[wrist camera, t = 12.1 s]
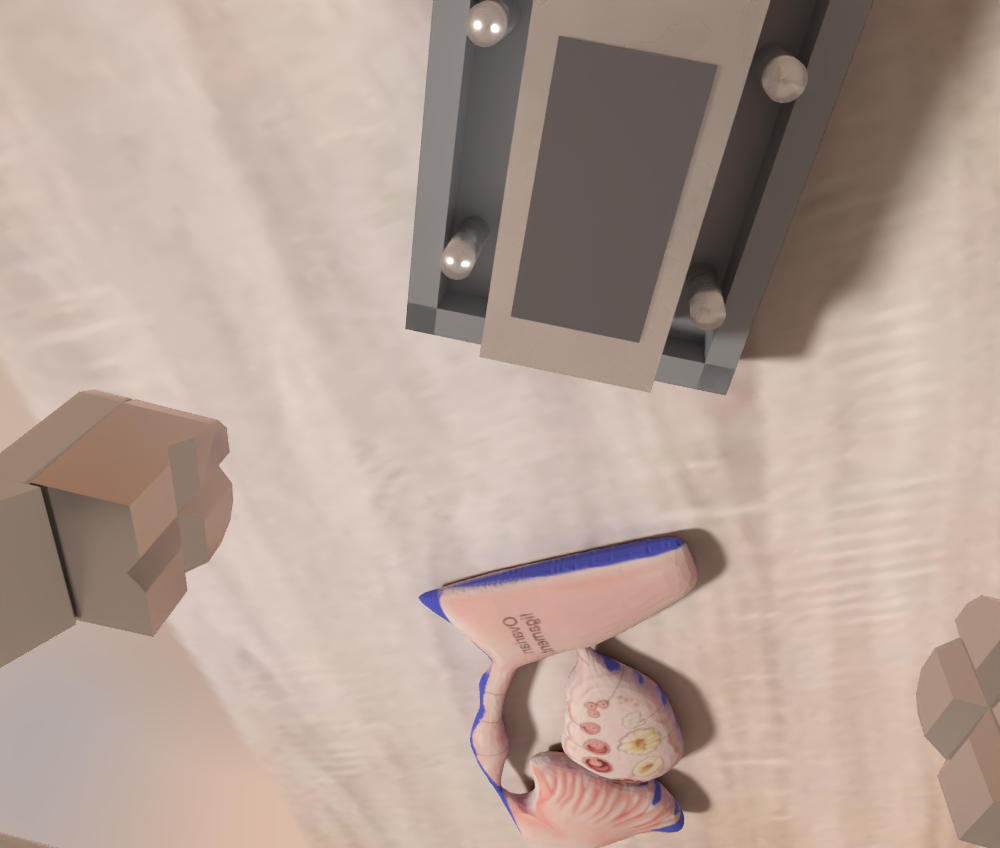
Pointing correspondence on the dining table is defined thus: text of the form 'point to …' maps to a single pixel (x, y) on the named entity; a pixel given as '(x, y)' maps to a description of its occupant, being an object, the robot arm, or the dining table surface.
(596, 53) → the block
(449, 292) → the pin tray
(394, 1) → the dining table surface
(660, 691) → the anatomical model
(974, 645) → the robot arm
